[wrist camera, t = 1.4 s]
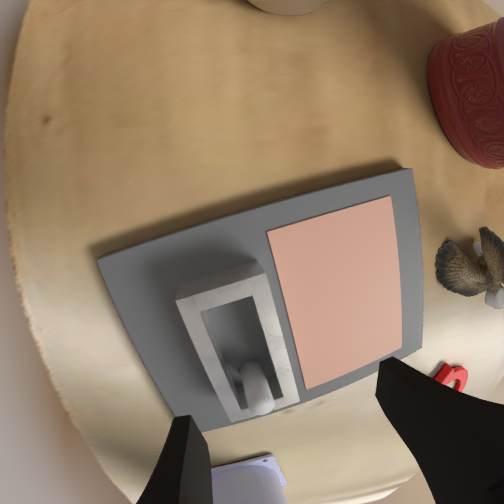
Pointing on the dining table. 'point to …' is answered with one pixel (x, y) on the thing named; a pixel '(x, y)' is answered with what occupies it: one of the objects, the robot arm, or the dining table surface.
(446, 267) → the eagle figurine
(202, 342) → the c link
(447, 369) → the tow hook
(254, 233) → the post board
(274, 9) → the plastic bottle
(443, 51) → the canister
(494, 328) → the dining table surface
